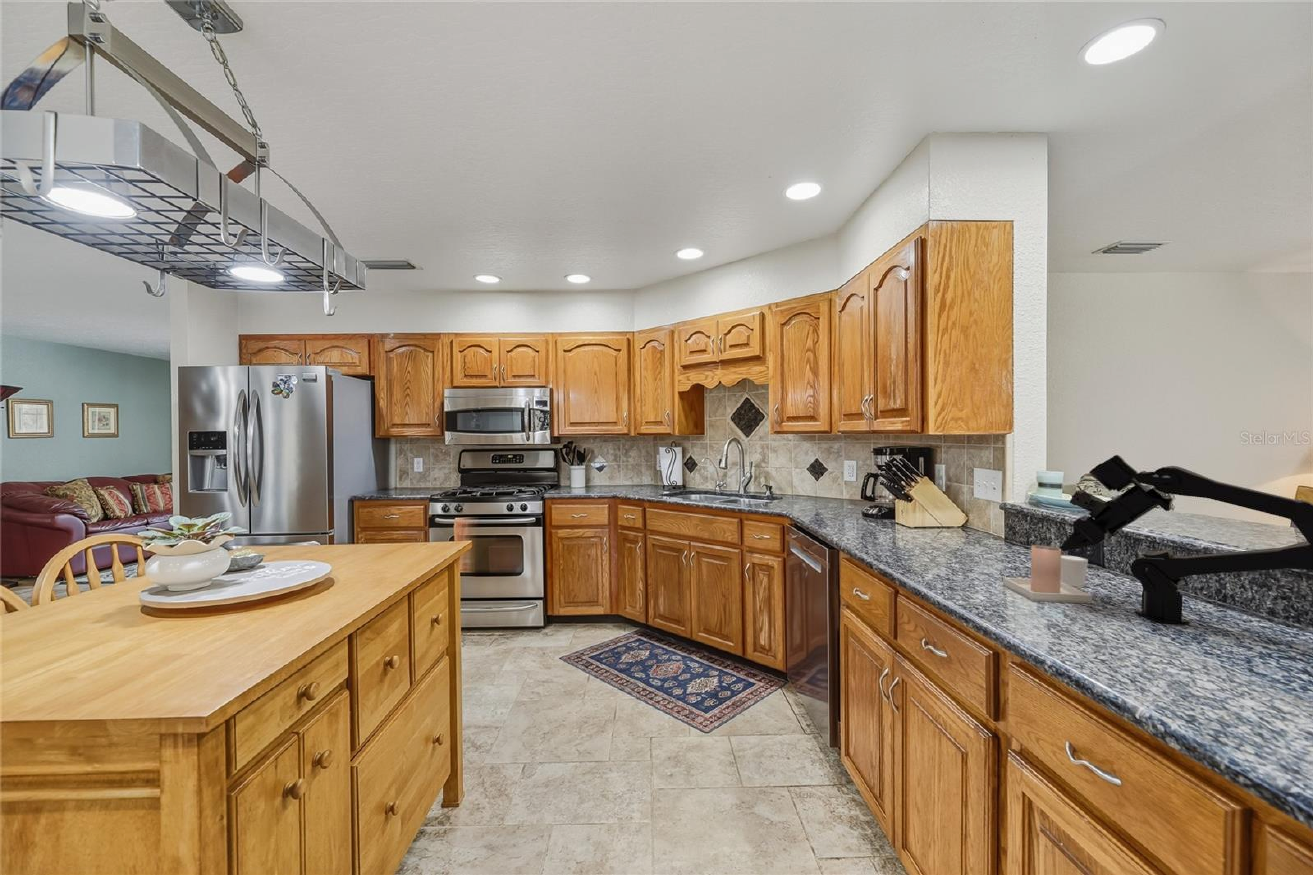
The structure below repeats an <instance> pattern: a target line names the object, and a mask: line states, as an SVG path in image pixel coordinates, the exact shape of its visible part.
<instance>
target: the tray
mask: <svg viewBox="0 0 1313 875" xmlns="http://www.w3.org/2000/svg"><path fill="white" fill-rule="evenodd" d="M1002 586H1003V587H1006V588H1007V589H1009V590H1011V591H1012V592H1014V593H1016V594H1018V595H1020V596H1022V597H1024V598H1026V599H1028V600H1029V601H1030V602H1031V601H1032V602H1041V603H1058V604H1059V603H1061V604H1062V603H1063V604H1084V605H1085V604H1088V605H1092V600H1093V596H1092V595H1091V594H1090V593H1087V592H1085V591H1082V590H1080V589H1078V588H1077V587H1076V588H1075V587H1074V586H1069V585H1067V584H1064V583H1062V582H1061V584H1060V593H1037V592H1033V591H1031V590H1030V586H1031V578H1019V577H1018V578H1017V577H1002Z"/></svg>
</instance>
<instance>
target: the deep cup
mask: <svg viewBox="0 0 1313 875" xmlns="http://www.w3.org/2000/svg"><path fill="white" fill-rule="evenodd" d="M1030 549H1031V552H1030V554H1031V556H1030V579H1031V586H1030V590H1031V591H1033V592H1037V593H1060V584H1061V555H1062V550H1061V549H1060V547H1057V546H1051V545H1041V544H1040V545H1039V544H1034V545H1031V548H1030Z"/></svg>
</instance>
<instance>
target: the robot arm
mask: <svg viewBox="0 0 1313 875" xmlns="http://www.w3.org/2000/svg"><path fill="white" fill-rule="evenodd" d="M1088 474H1089V475H1090V476H1091V477H1092V478H1094V479H1095V480H1096V481H1097V482H1098V483H1099V484H1101V485H1102V486H1103V487H1104V488H1105V489H1106V490H1108V491H1109V492H1111V491H1116V492H1118V493H1120V492H1122V491H1123V490H1125V489H1126V488H1128V487H1130V486H1131V485H1132V484H1133V486H1132V487H1130V488H1129V489H1127V490H1126V491H1124V492H1122V493H1121V494H1120V495H1118V496H1117V497H1115V498H1114V499H1113V498H1112V499H1110V500H1107V501H1105V500H1104V499H1101V498H1099V497H1098V496H1095V495H1093V494H1092V493H1089V492H1087V491H1085V490H1082V489H1079V490H1076V491H1075V492H1074V493H1073V495H1071V499H1070V501H1069V503H1070V504H1071V505H1073V506H1077V507H1079V508H1082V509H1084V510H1085V511H1087V512H1089V513H1088V515H1089V516H1088V515H1082V516H1080V517H1078V518H1077V519H1076V520H1074V521H1073V522H1072V526H1073V532H1072V533H1071V534H1070V535H1069V536H1068V537H1067V539H1066V540H1065V541H1064V542H1063V543H1062V544H1060V547H1059V548H1060V549H1061V552H1066V551H1072V550H1077V549H1083V548H1086V547H1092V546H1096V545H1100V543H1102V542H1104V541H1106V540H1108V539H1111V538H1112V537H1115V536H1117V535H1118V534H1120V533H1122V532H1123V529H1124V528H1126V527H1127V526H1128V525H1130V524H1132V523H1134V522H1135V521H1138V519H1140V518H1142V517H1143V516H1145V515H1146V514H1148V513H1150V512H1151V511H1153V510H1154V509H1156V508H1157V507H1160V508H1162V509H1163V510H1164V511H1166V512H1169V511H1171V510H1172V509H1173V507H1172V506H1173V505H1172V504H1173V501H1174V500H1173V499H1174V498H1172V497H1166V496H1164V495H1163V494H1167V495H1168V494H1169V495H1176V496H1184V497H1195V498H1203V499H1210V500H1214V501H1218V502H1222V503H1226V504H1230V505H1234V506H1238V507H1241V508H1246V509H1249V510H1253V511H1256V512H1261V513H1264V514H1269V515H1273V516H1277V517H1280V518H1283V519H1284V518H1285V519H1288V520H1291V522H1292V524H1294V525H1295V527H1296V528H1297V529H1298V530H1299V532H1300V533H1301V535H1302V536H1303V537H1304V539H1306V540H1304V541H1301V542H1297V543H1294V544H1293V543H1292V544H1290V545H1287V546H1282V547H1273V548H1263V549H1262V548H1261V549H1251V550H1240V551H1230V552H1228V551H1227V552H1218V553H1217V552H1216V553H1207V554H1195V555H1194V554H1193V555H1180V554H1174V550H1173V548H1167V549H1163V550H1150V549H1149V550H1148V551H1146V552H1145V553H1143V554H1142V555H1140V556H1139V557H1137V558H1136V559H1134V560H1133V561H1132V563H1131V565H1130V573H1131V574H1132V576H1133V577H1134V578H1135V579H1136V580H1138V581H1139V582H1140V583H1141V586H1142V591H1141V609H1139V610H1138V609H1135V610H1134V613H1135V614H1137V615H1139V616H1142V617H1144V618H1146V619H1149V620H1150V621H1154V622H1156V623H1161V624H1162V623H1164V624H1186V625H1189V624H1190V622H1191V621H1190V620H1187V619H1184V618H1183V594H1182V593H1181V592H1180V591H1179V590H1180V589H1181V588H1182V587H1183V585H1184V582H1185V581H1184V580H1183V578H1186V577H1190V576H1199V575H1212V574H1213V575H1214V574H1227V573H1242V572H1256V571H1257V572H1258V571H1271V570H1283V569H1284V570H1286V569H1287V570H1288V569H1290V570H1301V571H1309V572H1311V571H1312V572H1313V503H1312V502H1310V501H1308V500H1303V499H1295V498H1289V497H1285V496H1282V495H1277V494H1272V493H1268V492H1263V491H1259V490H1255V489H1253V488H1252V489H1251V488H1248V487H1242V486H1239V485H1233V484H1231V483H1230V484H1229V483H1225V482H1221V481H1217V480H1214V479H1213V478H1212V479H1211V478H1210V477H1207V476H1204V475H1201V474H1199V473H1197V472H1195V471H1191V470H1188V469H1186V468H1183V467H1180V466H1177V465H1169V466H1168V465H1167V466H1164V467H1160V468H1158V469H1156V470H1155V471H1146V470H1143V471H1140V472H1138V471H1137V470H1135V468H1133V467H1132V466H1131V465H1130V464H1128V463H1127V462H1126V461H1125V459H1124V458H1123V457H1122V456H1120V455H1119V454H1117V455H1116V454H1115V455H1113V456H1112V457H1110V458H1109V459H1107V460H1105V461H1103V462H1102V463H1099V464H1097V465H1096V466H1095V467H1093V468H1092V469H1091V470H1089V473H1088ZM1144 485H1147V486H1148V485H1149V486H1153V487H1152V488H1150V489H1148V488H1147V487H1146V486H1144ZM1160 492H1161V493H1163V494H1161V493H1160Z"/></svg>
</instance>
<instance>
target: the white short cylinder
mask: <svg viewBox="0 0 1313 875" xmlns="http://www.w3.org/2000/svg"><path fill="white" fill-rule="evenodd" d="M1088 563H1089V559H1088V558H1084V557H1082V556H1076V555H1066V554H1061V582H1062V583H1064V584H1067V585H1069V586H1071V587H1073V588H1075V587H1076V588H1079V587H1080V588H1082V587H1085V584H1086V583H1085V582H1086V576H1087V570H1088Z"/></svg>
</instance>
